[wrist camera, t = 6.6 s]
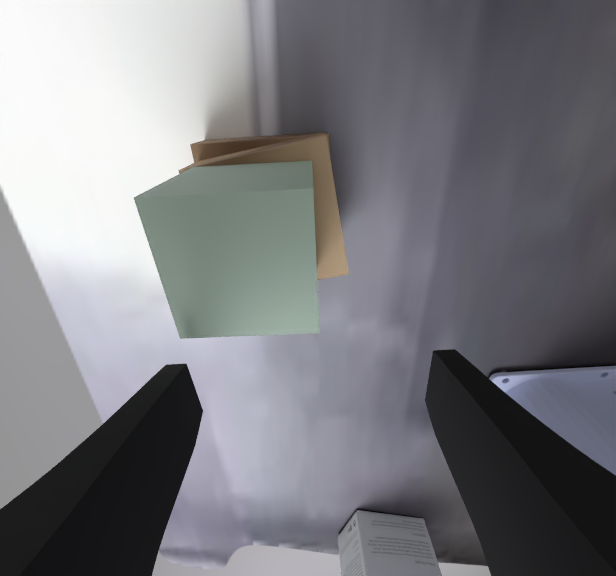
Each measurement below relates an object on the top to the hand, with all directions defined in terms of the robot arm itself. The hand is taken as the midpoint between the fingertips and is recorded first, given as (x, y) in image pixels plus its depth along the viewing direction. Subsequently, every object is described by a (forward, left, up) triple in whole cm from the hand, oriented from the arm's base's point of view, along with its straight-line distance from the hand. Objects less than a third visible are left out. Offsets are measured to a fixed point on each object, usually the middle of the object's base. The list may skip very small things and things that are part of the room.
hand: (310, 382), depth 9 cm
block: (+2, -3, -6) cm, 7 cm away
